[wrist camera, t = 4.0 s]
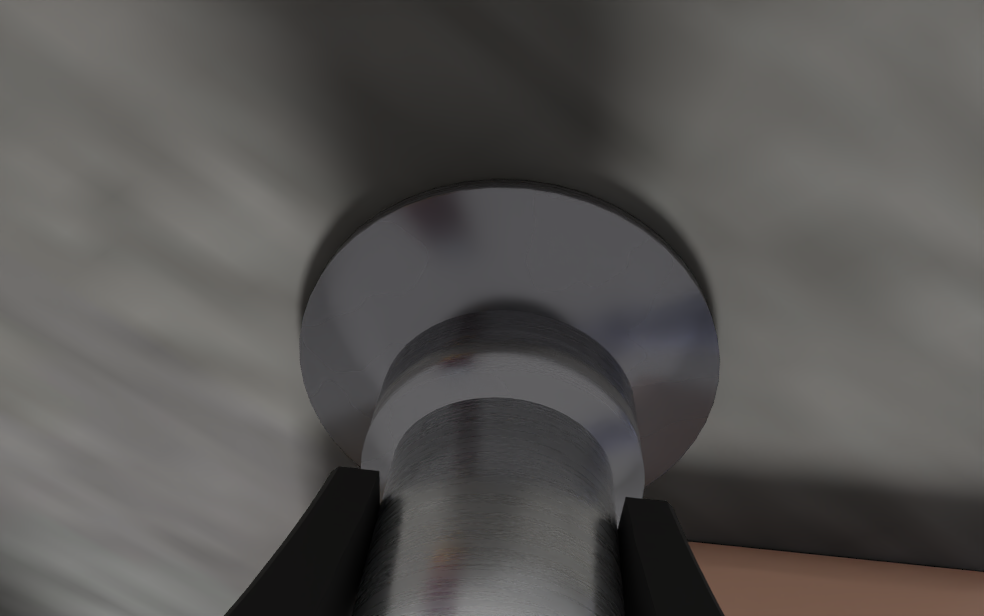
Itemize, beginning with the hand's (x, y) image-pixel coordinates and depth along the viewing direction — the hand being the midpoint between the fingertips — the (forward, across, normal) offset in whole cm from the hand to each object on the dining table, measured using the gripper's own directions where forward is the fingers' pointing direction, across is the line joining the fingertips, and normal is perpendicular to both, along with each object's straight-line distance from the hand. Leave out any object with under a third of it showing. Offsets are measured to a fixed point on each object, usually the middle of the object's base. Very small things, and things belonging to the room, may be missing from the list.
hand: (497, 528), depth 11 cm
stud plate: (+4, 0, 0) cm, 4 cm away
